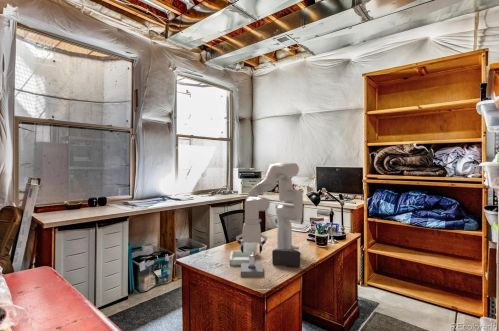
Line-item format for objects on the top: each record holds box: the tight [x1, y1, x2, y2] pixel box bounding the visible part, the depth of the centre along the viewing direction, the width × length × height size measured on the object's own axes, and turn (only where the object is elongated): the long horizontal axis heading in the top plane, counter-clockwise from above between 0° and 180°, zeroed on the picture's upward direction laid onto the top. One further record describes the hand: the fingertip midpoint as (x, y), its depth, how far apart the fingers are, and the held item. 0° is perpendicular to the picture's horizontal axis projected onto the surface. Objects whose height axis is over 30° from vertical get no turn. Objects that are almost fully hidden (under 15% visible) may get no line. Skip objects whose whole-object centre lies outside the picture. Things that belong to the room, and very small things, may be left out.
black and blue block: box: [271, 248, 301, 268], centre depth 164 cm, size 16×5×9 cm, turn 78°
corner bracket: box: [239, 239, 258, 256], centre depth 187 cm, size 11×11×12 cm
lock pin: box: [249, 255, 256, 269], centre depth 154 cm, size 3×3×9 cm
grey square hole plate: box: [240, 262, 264, 277], centre depth 154 cm, size 12×12×3 cm
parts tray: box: [229, 250, 253, 266], centre depth 171 cm, size 14×16×4 cm
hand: (251, 252), depth 153 cm, fingers open, 9 cm apart
